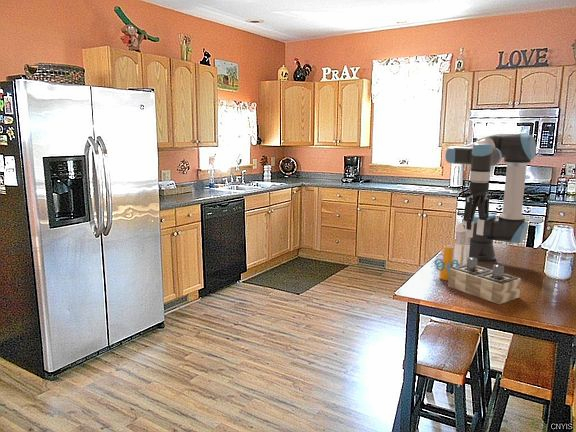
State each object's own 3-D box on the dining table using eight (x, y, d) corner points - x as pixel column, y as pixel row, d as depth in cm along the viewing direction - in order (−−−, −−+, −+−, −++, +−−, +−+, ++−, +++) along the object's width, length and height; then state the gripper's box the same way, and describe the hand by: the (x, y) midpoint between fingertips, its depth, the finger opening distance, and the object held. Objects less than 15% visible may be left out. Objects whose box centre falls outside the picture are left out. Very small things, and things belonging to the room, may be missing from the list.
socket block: (467, 280, 205) (469, 262, 203) (519, 297, 185) (521, 277, 183) (447, 286, 197) (449, 267, 196) (499, 304, 178) (501, 283, 176)
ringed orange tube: (460, 283, 200) (463, 251, 197) (435, 282, 202) (438, 249, 199) (456, 275, 212) (458, 244, 209) (432, 273, 214) (435, 242, 211)
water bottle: (463, 272, 216) (467, 221, 211) (450, 269, 221) (454, 219, 216) (470, 269, 220) (475, 219, 215) (457, 266, 225) (461, 217, 220)
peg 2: (495, 282, 188) (496, 263, 186) (504, 285, 185) (506, 266, 183) (489, 283, 186) (491, 265, 184) (498, 286, 182) (500, 267, 181)
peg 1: (469, 274, 198) (471, 256, 196) (477, 276, 194) (479, 258, 193) (463, 275, 196) (465, 258, 194) (472, 278, 192) (473, 260, 191)
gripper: (485, 179, 195) (480, 231, 200) (456, 182, 185) (452, 236, 189) (501, 181, 189) (496, 234, 194) (472, 184, 179) (467, 240, 183)
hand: (474, 235), depth 192 cm, fingers open, 6 cm apart
